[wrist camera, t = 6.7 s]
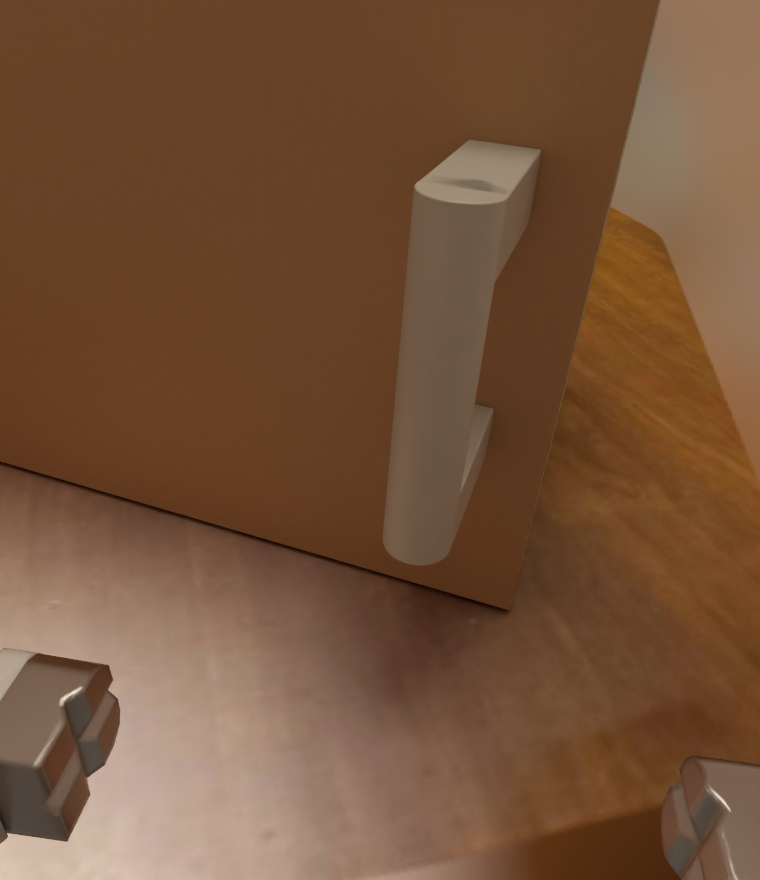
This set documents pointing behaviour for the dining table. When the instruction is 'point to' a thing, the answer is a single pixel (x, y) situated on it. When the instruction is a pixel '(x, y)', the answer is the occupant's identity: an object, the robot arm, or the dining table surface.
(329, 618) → the dining table surface
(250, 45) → the door
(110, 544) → the dining table surface
